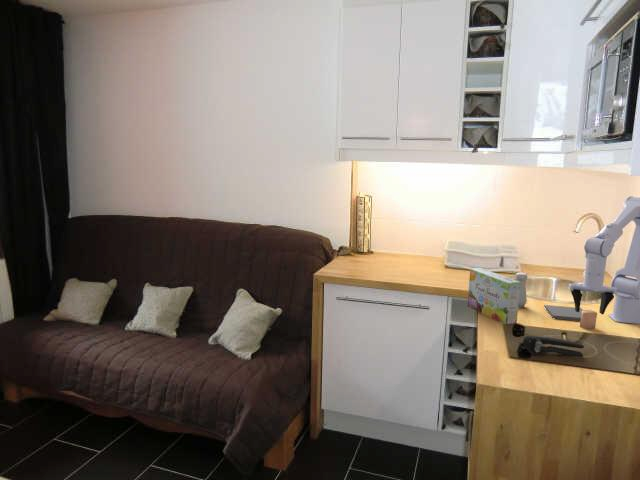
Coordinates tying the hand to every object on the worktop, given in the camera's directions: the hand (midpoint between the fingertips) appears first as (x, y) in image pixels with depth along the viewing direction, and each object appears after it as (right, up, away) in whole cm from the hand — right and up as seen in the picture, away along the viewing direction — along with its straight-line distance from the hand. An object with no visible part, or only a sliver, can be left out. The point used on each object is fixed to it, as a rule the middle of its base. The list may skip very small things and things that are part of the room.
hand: (589, 312), depth 168 cm
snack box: (-30, -3, +11) cm, 32 cm away
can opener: (-24, -9, -23) cm, 34 cm away
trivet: (-1, -3, +14) cm, 14 cm away
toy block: (0, -5, +1) cm, 5 cm away
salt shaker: (-15, -1, +23) cm, 27 cm away
